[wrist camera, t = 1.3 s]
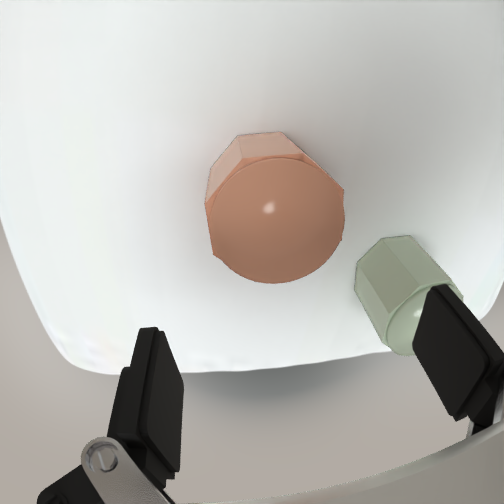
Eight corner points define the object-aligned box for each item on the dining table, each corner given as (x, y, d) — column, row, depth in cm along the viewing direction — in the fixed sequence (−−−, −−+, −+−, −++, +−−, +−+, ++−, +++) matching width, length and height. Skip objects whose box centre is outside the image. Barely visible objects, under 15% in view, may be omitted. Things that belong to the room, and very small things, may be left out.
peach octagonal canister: (310, 129, 22) (348, 153, 15) (312, 221, 26) (342, 276, 19) (206, 139, 22) (197, 166, 15) (219, 232, 26) (218, 291, 19)
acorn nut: (428, 233, 27) (474, 279, 20) (414, 295, 31) (449, 345, 24) (359, 241, 27) (397, 295, 20) (351, 306, 31) (379, 365, 24)
